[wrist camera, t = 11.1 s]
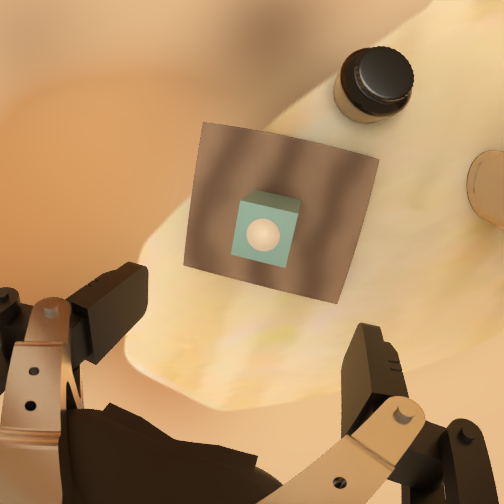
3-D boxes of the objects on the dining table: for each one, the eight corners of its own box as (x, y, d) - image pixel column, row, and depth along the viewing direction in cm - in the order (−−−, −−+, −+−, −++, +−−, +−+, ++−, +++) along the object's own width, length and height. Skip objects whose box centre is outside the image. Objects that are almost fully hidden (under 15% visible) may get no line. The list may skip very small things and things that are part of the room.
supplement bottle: (370, 135, 32) (397, 131, 21) (321, 99, 32) (325, 78, 20) (401, 92, 29) (439, 72, 18) (353, 56, 29) (370, 19, 18)
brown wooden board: (375, 158, 33) (394, 163, 24) (336, 296, 39) (340, 335, 31) (208, 122, 35) (178, 118, 27) (188, 259, 41) (160, 288, 33)
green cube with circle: (301, 200, 33) (298, 214, 27) (290, 244, 35) (285, 268, 28) (254, 189, 34) (239, 200, 27) (245, 233, 36) (230, 255, 29)
